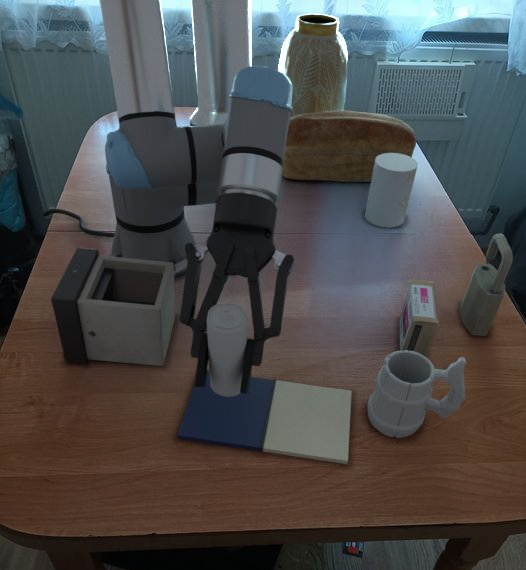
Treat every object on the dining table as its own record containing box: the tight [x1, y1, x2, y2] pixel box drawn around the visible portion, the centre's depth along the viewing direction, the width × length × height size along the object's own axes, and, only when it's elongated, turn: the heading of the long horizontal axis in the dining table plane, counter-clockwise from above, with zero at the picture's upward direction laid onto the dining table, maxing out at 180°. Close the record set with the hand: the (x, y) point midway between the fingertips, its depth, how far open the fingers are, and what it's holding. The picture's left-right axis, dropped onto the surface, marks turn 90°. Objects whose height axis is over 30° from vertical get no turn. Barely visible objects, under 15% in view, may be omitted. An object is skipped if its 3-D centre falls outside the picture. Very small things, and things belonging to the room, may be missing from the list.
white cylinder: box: [364, 153, 419, 228], centre depth 109 cm, size 8×8×12 cm
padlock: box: [459, 233, 514, 337], centre depth 84 cm, size 4×8×15 cm, turn 176°
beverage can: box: [206, 301, 249, 397], centre depth 66 cm, size 5×5×12 cm
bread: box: [282, 109, 417, 183], centre depth 122 cm, size 12×31×14 cm, turn 91°
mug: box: [366, 350, 467, 439], centre depth 70 cm, size 8×12×12 cm, turn 85°
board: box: [177, 370, 353, 465], centre depth 73 cm, size 22×12×1 cm, turn 81°
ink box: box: [399, 279, 440, 358], centre depth 82 cm, size 10×4×8 cm, turn 170°
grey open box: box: [50, 247, 176, 367], centre depth 79 cm, size 12×14×12 cm
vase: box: [277, 13, 349, 118], centre depth 132 cm, size 17×17×27 cm
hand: (222, 389), depth 65 cm, fingers closed on beverage can, 5 cm apart
